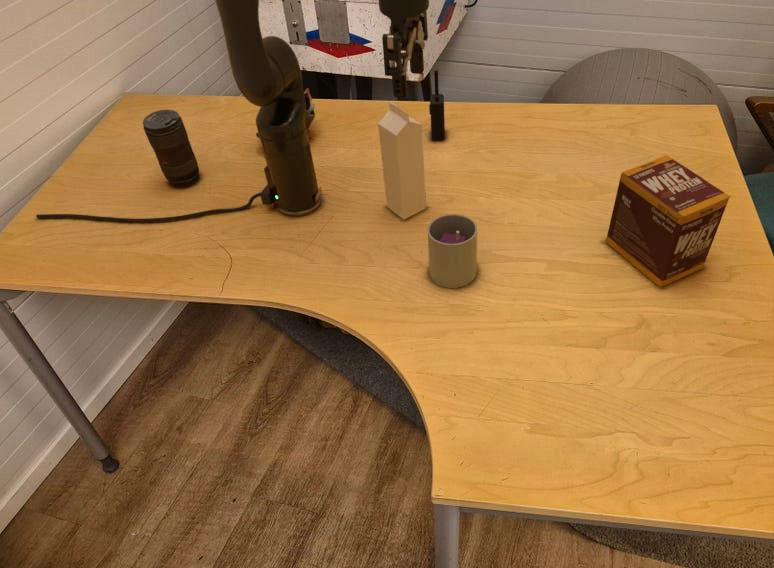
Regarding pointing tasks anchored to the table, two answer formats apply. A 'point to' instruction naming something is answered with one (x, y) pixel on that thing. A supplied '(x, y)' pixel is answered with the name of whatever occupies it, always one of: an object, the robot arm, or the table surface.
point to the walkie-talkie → (437, 113)
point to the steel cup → (452, 251)
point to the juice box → (452, 238)
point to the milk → (402, 162)
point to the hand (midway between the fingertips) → (409, 84)
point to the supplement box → (665, 219)
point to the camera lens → (172, 147)
